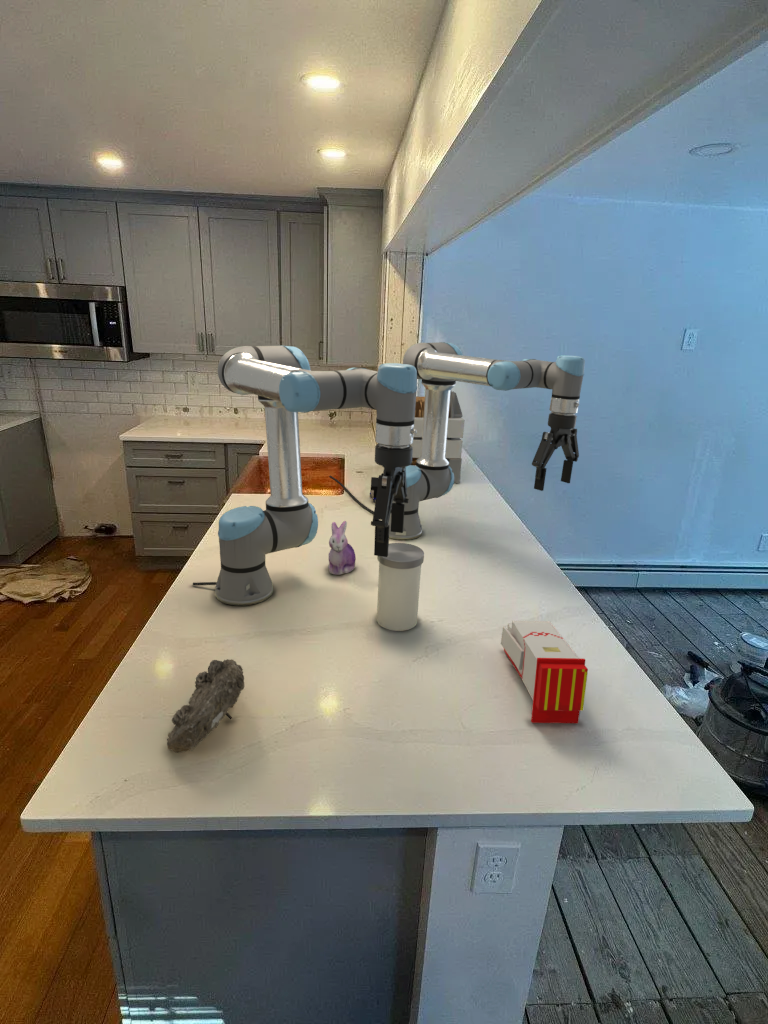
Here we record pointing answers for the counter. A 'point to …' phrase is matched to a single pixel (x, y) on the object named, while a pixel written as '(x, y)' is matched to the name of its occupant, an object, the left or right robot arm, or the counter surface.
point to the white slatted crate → (453, 434)
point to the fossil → (206, 705)
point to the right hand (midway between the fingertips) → (552, 485)
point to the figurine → (340, 551)
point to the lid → (402, 556)
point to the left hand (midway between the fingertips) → (389, 543)
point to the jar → (398, 597)
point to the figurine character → (374, 488)
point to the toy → (547, 670)
